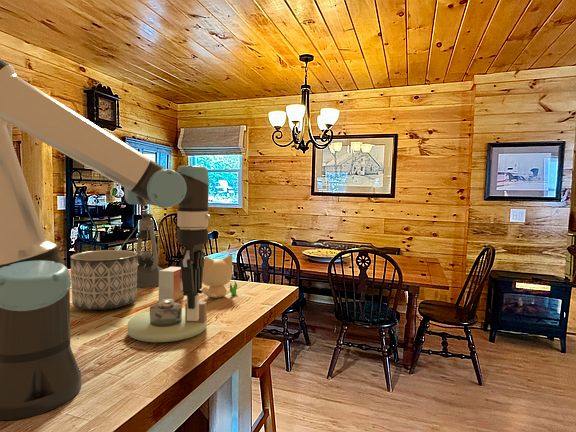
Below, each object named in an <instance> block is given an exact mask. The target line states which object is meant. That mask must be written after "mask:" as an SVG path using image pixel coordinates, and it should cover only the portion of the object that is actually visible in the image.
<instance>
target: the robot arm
mask: <svg viewBox="0 0 576 432" xmlns="http://www.w3.org/2000/svg"><path fill="white" fill-rule="evenodd" d="M8 124H9V125H11V126H13V127H15V128H17V129H19V130H21V131H22V132H24V133H25V134H27V135H29V136H31V137H33V138H34V139H36V140H38V141H40V142H42V143H44V144H46V145H47V146H49V147H51V148H53V149H55V150H56V151H58V152H60V153H62V154H64V155H66V156H67V157H68V158H71V159H73V160H74V161H76V162H78V163H80V164H82V165H83V166H85V167H87V168H89V169H91V170H92V171H94V172H96V173H98V174H99V175H102V176H103V177H104V178H107V179H108V180H111V181H112V182H114V183H116V184H117V185H120V186H121V187H122V188H124V199H125V202H126V203H127V204H129V205H138V206H143V205H151V206H156V207H159V208H162V209H168V208H172V207H175V206H177V222H176V223H177V227H178V229H177V243H178V244H179V245H182V246H184V249H183V252H182V258H180V259H179V267H181V273H182V284H183V296H184V297H185V296H186V303H187V321H198V320H199V301H200V294H203V290H202V289H203V283H202V278H203V267H204V259H205V257H206V252H205V251H203V248H202V245H205V244H206V245H207V244H208V243H209V229H208V226H209V219H211V215H210V214H209V194H210V193H209V191H210V189H209V188H210V182H209V181H210V180H209V171H208V169H207V168H206V167H205V166H200V165H180V166H178V167H177V171H175V170H173V169H169V168H165V167H163V166H162V165H160V164H159V163H158V162H156V161H153V159H151V158H149V157H148V156H146V155H144V154H143V153H141V152H140V151H139V150H137V149H135V148H133V147H132V146H130V145H128V144H127V143H125V142H124V141H122V140H120V139H119V138H117V137H115V136H114V135H112V134H111V133H109V132H108V131H106V130H104V129H103V128H101V127H100V126H98V125H96V124H95V123H93V122H92V121H90V120H89V119H86V118H85V117H84V116H82V115H80V114H79V113H78V112H76V111H74V110H72V109H71V108H69V107H67V106H66V105H65V104H63V103H61V102H59V101H58V100H57V99H55V98H53V97H51V96H50V95H48V94H47V93H45V92H43V91H42V90H40V89H38V88H37V87H35V86H33V85H32V84H31V83H29V82H27V81H25V80H24V79H22V78H21V77H19V76H18V75H17V73H16V70H15V67H14V66H13V65H11V64H10V63H8V62H7V61H5V60H4V59H2V58H1V57H0V421H13V420H19V419H21V420H22V419H24V418H30V417H34V416H37V415H41V414H43V413H46V412H49V411H51V410H54V409H56V408H57V409H58V407H60V406H62V405H64V404H66V403H67V402H70V401H71V400H72V399H73V398H75V396H76V395H77V394H79V392H80V390H81V389H82V373H81V369H80V368H79V366H78V362H77V361H76V358H75V354H74V352H73V350H72V348H71V293H70V292H71V291H70V288H71V287H72V282H71V275H70V272H69V268H68V267H67V266H66V265H65V264H64V262H63V259H62V256H61V252H60V251H59V248H58V245H57V243H54V242H52V241H50V240H48V239H47V238H46V236H45V233H44V230H43V227H42V224H41V222H40V219H39V216H38V213H37V209H36V207H35V204H34V201H33V198H32V196H31V193H30V190H29V187H28V184H27V182H26V179H25V175H24V173H23V169H22V167H21V163H20V162H19V159H18V155H17V153H16V149H15V146H14V145H13V142H12V137H11V135H10V132H9V129H8V127H7V125H8Z"/></svg>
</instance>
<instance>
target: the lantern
mask: <svg viewBox="0 0 576 432" xmlns="http://www.w3.org/2000/svg"><path fill="white" fill-rule="evenodd" d="M153 216H154V215H153V214H152V213H148V211H145V213H142V214H140V216H139V217H141V219H139V223H138V225H137V226H136V227H135V228H134V229H133V231H132V233H131V234H130V235H129V236H128V237H127V239H125V241H124V243H123V244H122V246H121V247H120V249H119V250H122V248H123V247H124V245H125V243H126V242H127V240H128V239H129V238H130V237H132V235H133V233H135V231H136V230H137V228H138V233H137V234H136V236H135V239H137V241H135V243H137V245H136V249H135V252H136V253H138V262H137V289H147V288H149V289H150V288H157V287H158V288H159V271H160V270H163V269H164V268H163V267H160V266H159V259H161V256H160V251H161V249H160V247H159V246H161V244H159V243H157V242H156V238H158V236H157V234H156V233H155V228H154V227H155V225H154V224H155V223H154V222H155V221H154V219H151V218H152V217H153ZM143 239H144V240H145V239H146V241H145V244H144V245H143ZM148 239H150V242H148ZM135 243H133V245H132V248H134V245H135ZM147 243H150V244H149V246H151V250H152V252H151V251H149V250H146V251H144V250H145V249H146V246H147ZM157 248H158V249H159V252H158V251H157Z"/></svg>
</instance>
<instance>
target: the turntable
mask: <svg viewBox="0 0 576 432" xmlns="http://www.w3.org/2000/svg"><path fill="white" fill-rule="evenodd" d="M207 303H208V302H207V301H204V300H203V301H202V300H201V301H200V300H199V320H198V321H187V302H185V306H184V307H182V321H181V323H179V324H177V325H174V326H169V327H156V326H152V325H151V324H150V310H149V311H146V312H142V313H139V314H137V315H134V316H132V318H130V319H129V320H128V322H127V334H128V336H129V337H130V338H132V339H133V340H134V339H135V340H137V341H141V342H147V343H169V342H177V341H181V340H186V339H189V338H192V337H195V336H198V335H199V334H201V333H203V332H204V331H205V330H206V329H207V325H208V324H207V322H208V321H207V320H208V319H207V318H208V317H207V315H208V314H207V313H208V312H207V311H208V307H207V306H208V304H207Z"/></svg>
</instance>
